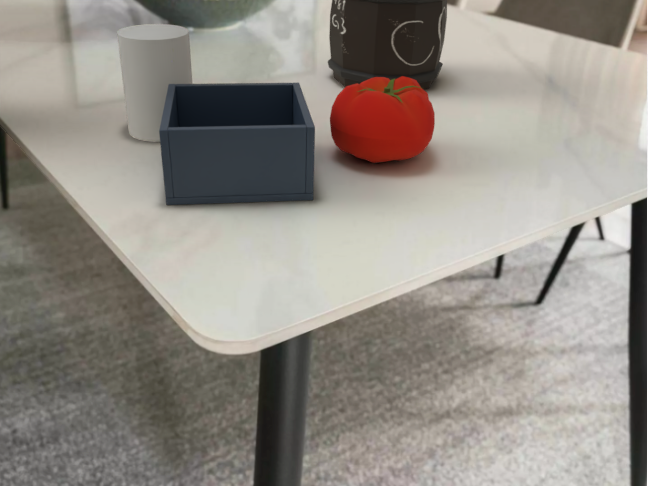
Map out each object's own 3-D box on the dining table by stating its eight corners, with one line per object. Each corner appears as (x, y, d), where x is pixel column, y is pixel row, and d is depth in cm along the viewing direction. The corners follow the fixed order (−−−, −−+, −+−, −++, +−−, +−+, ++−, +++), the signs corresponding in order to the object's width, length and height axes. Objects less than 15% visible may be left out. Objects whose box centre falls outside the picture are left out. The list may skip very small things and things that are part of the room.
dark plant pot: (461, 76, 109) (475, -28, 102) (409, 103, 96) (420, -13, 89) (366, 57, 118) (372, -40, 110) (306, 80, 105) (308, -29, 97)
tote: (166, 205, 67) (158, 130, 63) (174, 149, 79) (168, 83, 75) (313, 200, 69) (315, 127, 65) (298, 146, 81) (299, 82, 77)
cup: (207, 124, 87) (201, 28, 81) (174, 146, 80) (165, 43, 74) (151, 115, 89) (142, 21, 83) (115, 135, 82) (102, 35, 77)
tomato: (376, 186, 72) (381, 108, 68) (308, 148, 81) (310, 77, 76) (460, 161, 79) (470, 89, 74) (389, 129, 87) (394, 62, 83)
